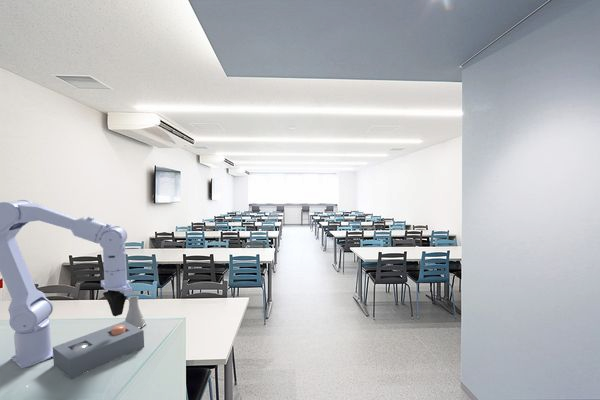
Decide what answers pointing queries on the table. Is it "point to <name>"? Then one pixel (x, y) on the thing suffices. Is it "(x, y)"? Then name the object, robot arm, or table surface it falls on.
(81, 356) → the plug panel
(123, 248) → the robot arm
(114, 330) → the terracotta plug
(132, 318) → the flask
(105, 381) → the table surface
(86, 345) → the steel plug
